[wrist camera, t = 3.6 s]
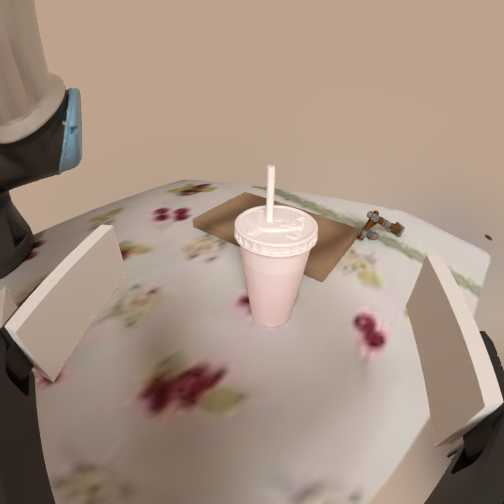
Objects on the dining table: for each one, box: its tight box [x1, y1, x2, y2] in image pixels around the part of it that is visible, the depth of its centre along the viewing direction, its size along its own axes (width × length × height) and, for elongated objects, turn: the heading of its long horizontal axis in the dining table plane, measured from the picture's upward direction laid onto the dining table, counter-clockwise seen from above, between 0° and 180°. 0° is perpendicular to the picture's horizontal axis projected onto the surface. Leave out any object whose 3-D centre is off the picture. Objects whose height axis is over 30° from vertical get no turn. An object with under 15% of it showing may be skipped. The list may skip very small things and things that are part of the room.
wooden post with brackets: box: [358, 211, 405, 240], centre depth 38 cm, size 2×8×4 cm, turn 108°
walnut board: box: [193, 192, 360, 282], centre depth 39 cm, size 20×12×1 cm, turn 53°
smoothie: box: [234, 165, 318, 327], centre depth 23 cm, size 6×6×14 cm
